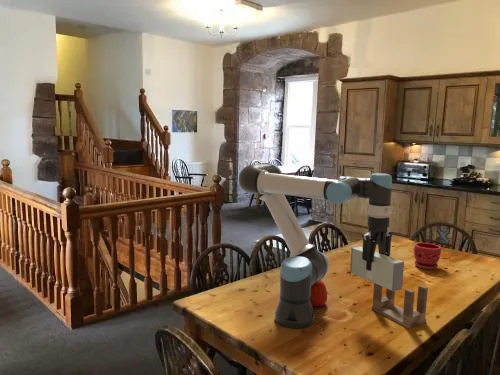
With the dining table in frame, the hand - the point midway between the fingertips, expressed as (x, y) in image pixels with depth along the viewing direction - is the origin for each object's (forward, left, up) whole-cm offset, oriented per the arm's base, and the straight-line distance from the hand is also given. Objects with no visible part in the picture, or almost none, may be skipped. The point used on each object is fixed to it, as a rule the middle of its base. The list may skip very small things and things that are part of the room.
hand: (374, 277), depth 152 cm
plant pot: (+75, +33, -19) cm, 84 cm away
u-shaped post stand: (+14, 0, -18) cm, 23 cm away
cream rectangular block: (0, 0, -1) cm, 1 cm away
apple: (-8, +25, -19) cm, 32 cm away
